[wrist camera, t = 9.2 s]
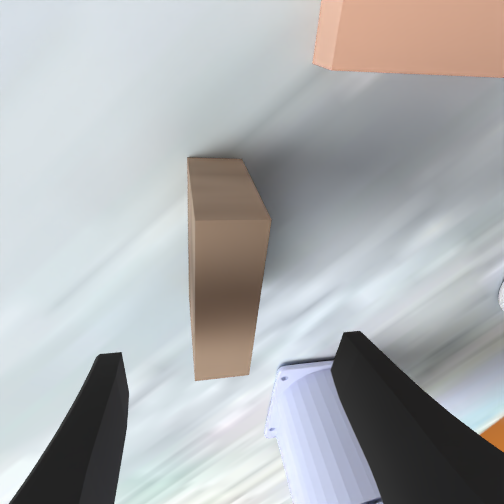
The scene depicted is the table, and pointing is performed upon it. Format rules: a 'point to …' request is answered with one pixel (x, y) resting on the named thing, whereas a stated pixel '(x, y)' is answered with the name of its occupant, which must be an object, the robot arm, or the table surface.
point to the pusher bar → (224, 264)
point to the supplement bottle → (501, 296)
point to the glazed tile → (412, 37)
